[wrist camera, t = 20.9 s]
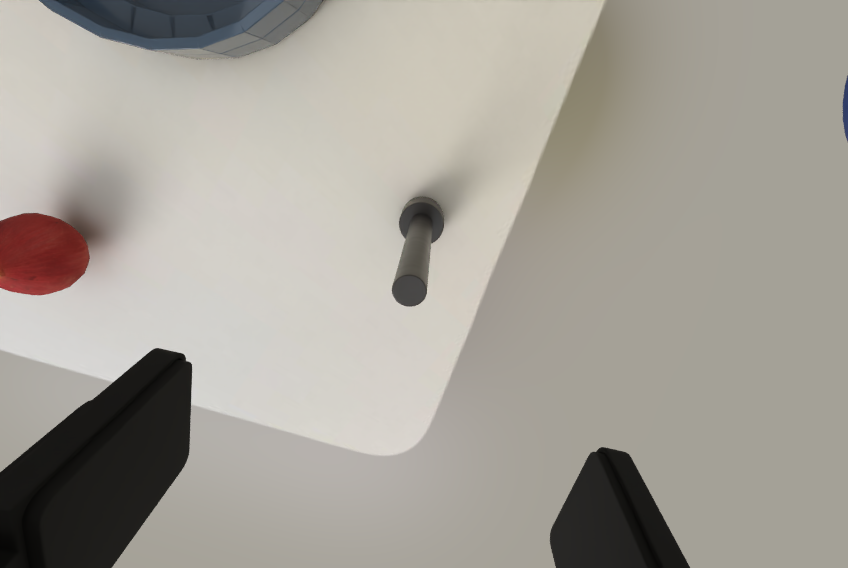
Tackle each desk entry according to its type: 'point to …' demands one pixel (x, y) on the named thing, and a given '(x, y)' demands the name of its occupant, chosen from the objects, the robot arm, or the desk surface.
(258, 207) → the desk surface
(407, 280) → the dark grey bolt
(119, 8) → the bowl
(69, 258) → the onion
